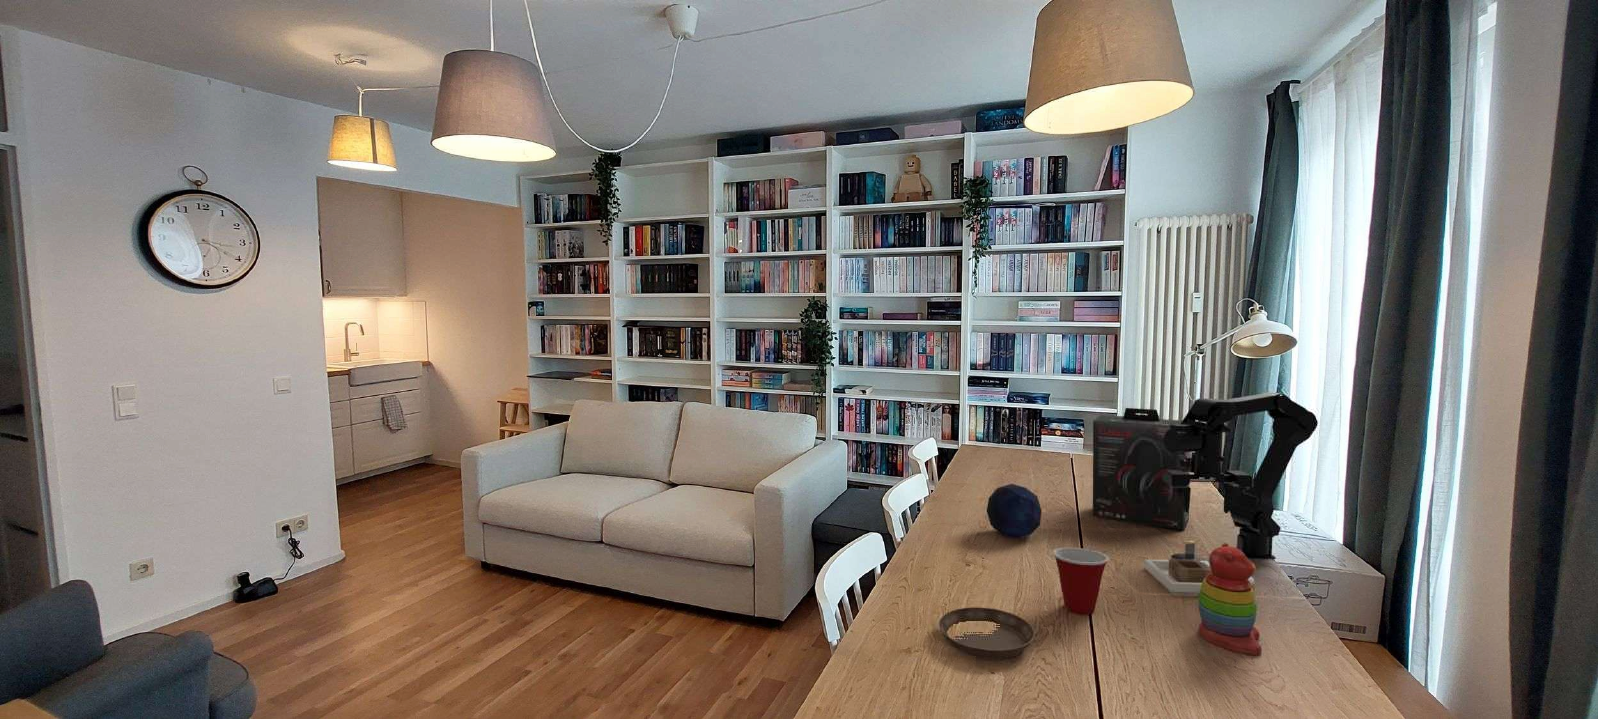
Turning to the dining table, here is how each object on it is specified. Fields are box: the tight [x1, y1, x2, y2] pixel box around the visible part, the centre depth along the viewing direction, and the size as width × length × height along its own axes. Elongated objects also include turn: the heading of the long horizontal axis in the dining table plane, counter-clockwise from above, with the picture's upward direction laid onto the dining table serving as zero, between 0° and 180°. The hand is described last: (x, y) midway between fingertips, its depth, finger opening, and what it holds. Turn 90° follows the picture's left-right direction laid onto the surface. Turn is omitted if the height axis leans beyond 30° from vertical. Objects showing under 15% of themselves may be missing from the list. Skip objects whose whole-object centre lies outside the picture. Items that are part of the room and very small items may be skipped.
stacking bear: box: [1197, 542, 1262, 656], centre depth 125 cm, size 11×10×18 cm
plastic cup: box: [1052, 547, 1110, 616], centre depth 139 cm, size 11×11×12 cm
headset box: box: [1092, 407, 1191, 531], centre depth 195 cm, size 25×12×33 cm, turn 54°
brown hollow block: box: [1168, 558, 1212, 583], centre depth 152 cm, size 8×6×4 cm
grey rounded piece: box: [1170, 540, 1209, 562], centre depth 163 cm, size 8×8×5 cm
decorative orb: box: [986, 483, 1043, 539], centre depth 183 cm, size 14×15×15 cm
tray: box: [1144, 559, 1211, 596], centre depth 151 cm, size 14×14×2 cm
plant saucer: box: [938, 606, 1036, 660], centre depth 127 cm, size 18×18×3 cm
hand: (1206, 512), depth 163 cm, fingers open, 9 cm apart
